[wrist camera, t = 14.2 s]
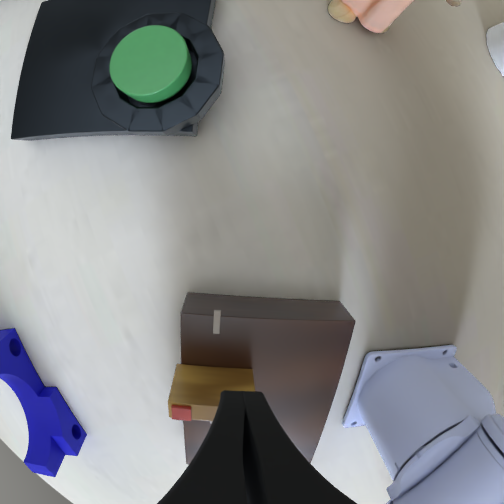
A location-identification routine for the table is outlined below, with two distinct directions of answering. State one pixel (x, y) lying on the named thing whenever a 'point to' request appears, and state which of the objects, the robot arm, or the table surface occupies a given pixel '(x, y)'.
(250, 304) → the brown flat block
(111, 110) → the button box
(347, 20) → the grandmother figurine
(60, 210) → the table surface
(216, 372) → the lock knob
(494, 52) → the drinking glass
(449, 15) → the table surface
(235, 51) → the table surface
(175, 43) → the button
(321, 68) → the table surface
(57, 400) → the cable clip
